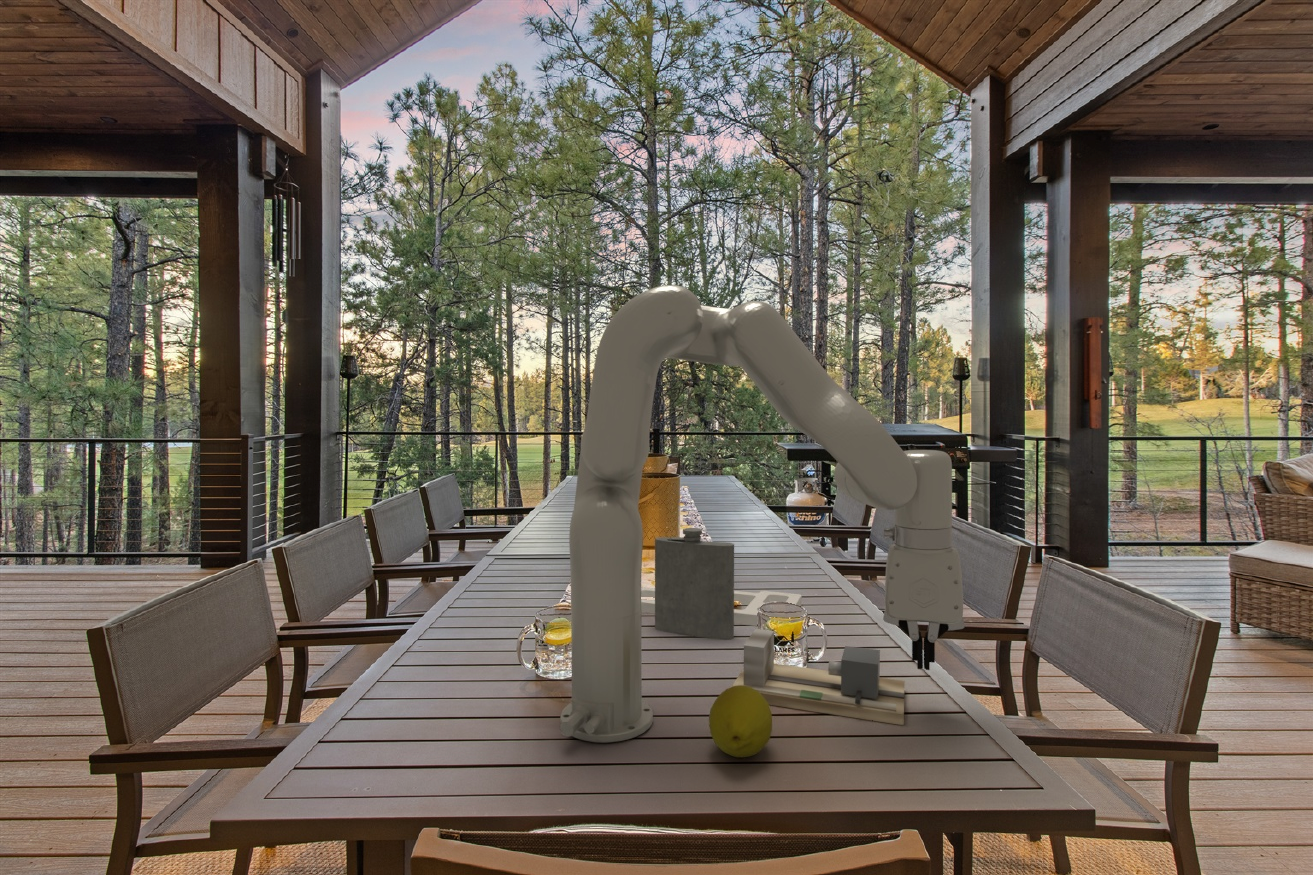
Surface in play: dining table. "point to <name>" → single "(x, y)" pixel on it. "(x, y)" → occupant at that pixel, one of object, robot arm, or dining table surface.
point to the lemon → (740, 721)
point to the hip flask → (694, 586)
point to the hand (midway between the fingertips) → (923, 665)
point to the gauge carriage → (858, 672)
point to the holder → (747, 598)
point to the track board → (813, 686)
